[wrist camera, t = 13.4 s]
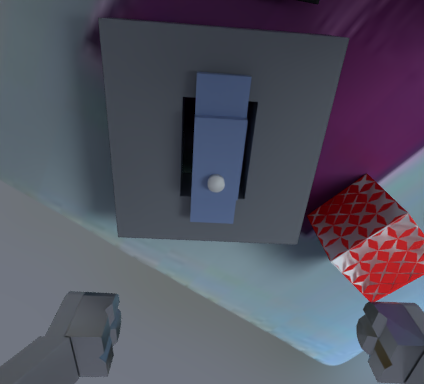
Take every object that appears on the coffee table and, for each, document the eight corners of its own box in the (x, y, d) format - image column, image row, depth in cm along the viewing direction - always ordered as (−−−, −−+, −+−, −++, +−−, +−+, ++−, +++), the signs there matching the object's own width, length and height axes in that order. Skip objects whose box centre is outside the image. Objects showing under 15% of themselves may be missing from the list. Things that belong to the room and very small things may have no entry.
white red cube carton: (400, 217, 37) (445, 263, 30) (342, 253, 39) (371, 303, 33) (366, 172, 34) (407, 212, 27) (305, 214, 37) (329, 261, 30)
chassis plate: (325, 34, 27) (349, 38, 23) (285, 217, 36) (296, 244, 32) (115, 17, 26) (98, 17, 22) (128, 210, 35) (118, 237, 31)
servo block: (242, 65, 28) (254, 80, 22) (228, 191, 35) (234, 232, 28) (198, 62, 28) (196, 76, 22) (192, 189, 34) (189, 230, 28)
